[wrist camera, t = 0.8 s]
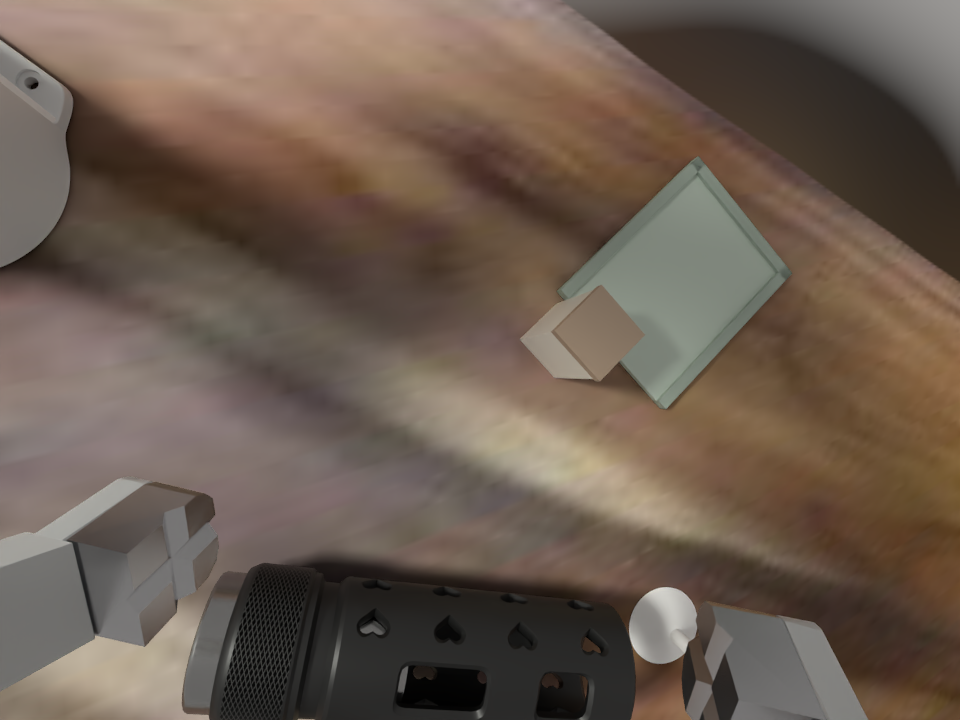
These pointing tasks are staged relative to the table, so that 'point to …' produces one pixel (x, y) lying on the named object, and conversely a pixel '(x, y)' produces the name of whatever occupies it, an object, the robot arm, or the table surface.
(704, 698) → the robot arm
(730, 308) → the tray
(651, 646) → the champagne flute
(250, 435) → the table surface
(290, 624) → the muzzle brake
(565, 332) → the canister
